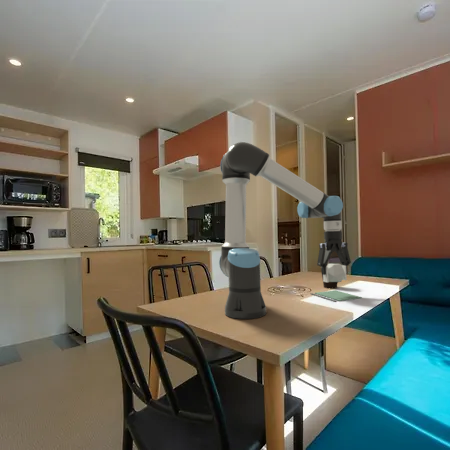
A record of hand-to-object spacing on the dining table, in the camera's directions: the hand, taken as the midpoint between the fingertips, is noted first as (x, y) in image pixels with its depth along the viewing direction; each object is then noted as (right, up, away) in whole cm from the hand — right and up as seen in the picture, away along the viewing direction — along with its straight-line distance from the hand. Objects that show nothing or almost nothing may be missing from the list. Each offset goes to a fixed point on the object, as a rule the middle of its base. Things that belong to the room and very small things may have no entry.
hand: (334, 280), depth 127 cm
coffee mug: (+6, -7, +18) cm, 20 cm away
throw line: (-6, -7, -2) cm, 10 cm away
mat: (+1, -7, 0) cm, 7 cm away
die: (0, 0, 0) cm, 0 cm away
